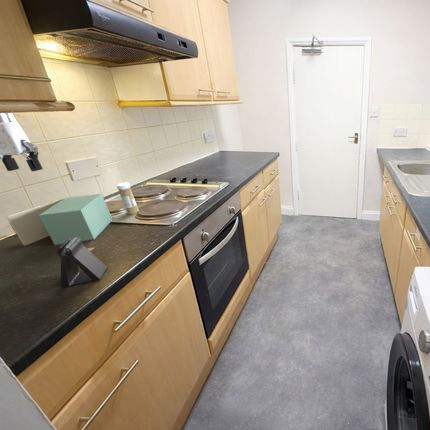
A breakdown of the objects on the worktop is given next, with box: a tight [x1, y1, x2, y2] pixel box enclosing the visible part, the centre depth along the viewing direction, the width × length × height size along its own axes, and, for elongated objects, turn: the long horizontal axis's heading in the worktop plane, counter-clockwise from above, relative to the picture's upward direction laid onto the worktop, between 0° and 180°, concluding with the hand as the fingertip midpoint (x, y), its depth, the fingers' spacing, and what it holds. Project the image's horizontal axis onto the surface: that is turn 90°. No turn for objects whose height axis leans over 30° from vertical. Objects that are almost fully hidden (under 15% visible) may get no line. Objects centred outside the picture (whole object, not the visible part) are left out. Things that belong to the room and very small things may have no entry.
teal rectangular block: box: [39, 193, 113, 246], centre depth 100 cm, size 12×17×12 cm
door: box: [6, 197, 66, 247], centre depth 99 cm, size 4×17×12 cm, turn 162°
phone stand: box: [56, 237, 108, 289], centre depth 74 cm, size 9×6×12 cm, turn 109°
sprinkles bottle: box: [116, 182, 140, 215], centre depth 115 cm, size 5×5×14 cm
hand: (25, 170), depth 93 cm, fingers open, 9 cm apart
